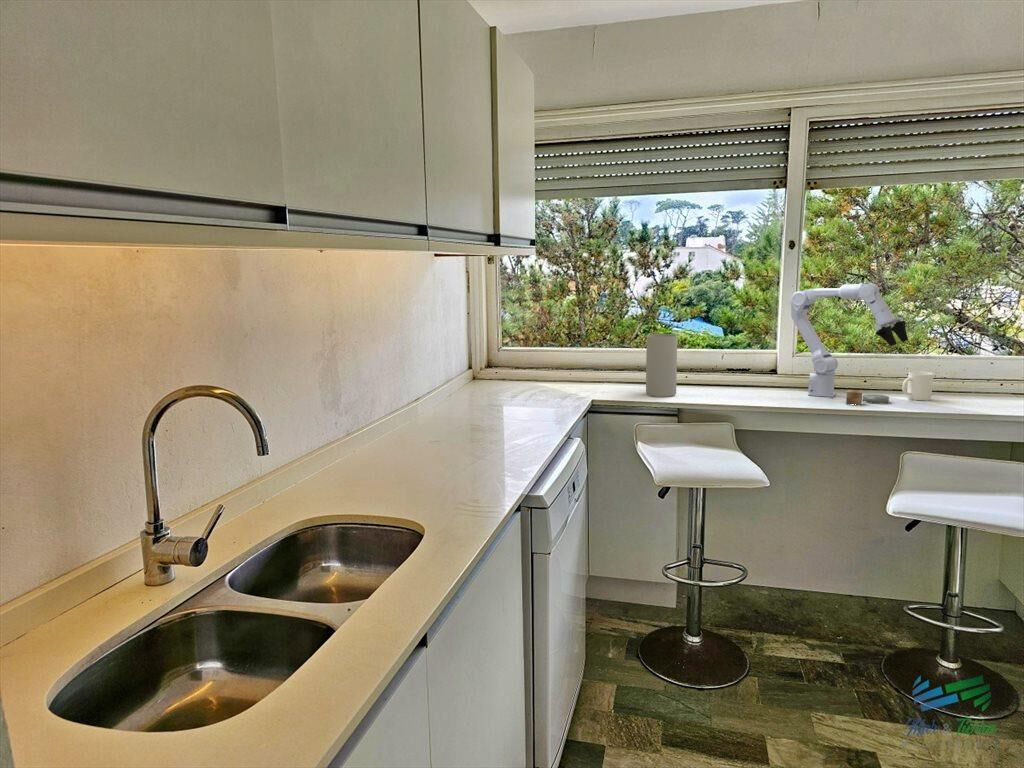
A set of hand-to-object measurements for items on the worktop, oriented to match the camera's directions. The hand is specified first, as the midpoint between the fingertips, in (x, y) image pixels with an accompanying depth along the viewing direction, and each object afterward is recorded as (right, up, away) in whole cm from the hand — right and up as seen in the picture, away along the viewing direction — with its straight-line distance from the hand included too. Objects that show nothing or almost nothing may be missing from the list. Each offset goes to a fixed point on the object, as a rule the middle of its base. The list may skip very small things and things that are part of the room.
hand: (899, 343), depth 253 cm
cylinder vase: (-83, -20, +31) cm, 91 cm away
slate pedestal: (-4, -22, +9) cm, 24 cm away
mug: (+12, -22, +11) cm, 27 cm away
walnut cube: (-15, -23, +5) cm, 28 cm away
